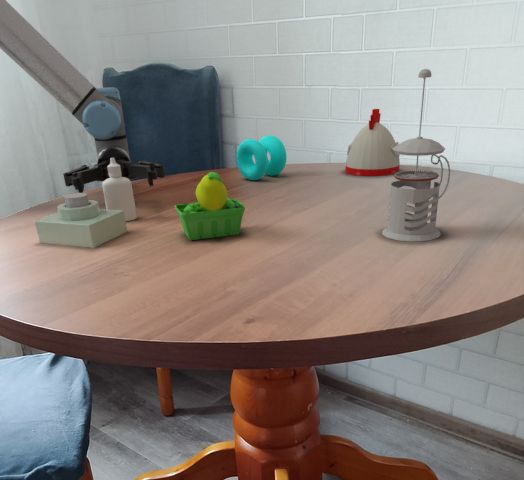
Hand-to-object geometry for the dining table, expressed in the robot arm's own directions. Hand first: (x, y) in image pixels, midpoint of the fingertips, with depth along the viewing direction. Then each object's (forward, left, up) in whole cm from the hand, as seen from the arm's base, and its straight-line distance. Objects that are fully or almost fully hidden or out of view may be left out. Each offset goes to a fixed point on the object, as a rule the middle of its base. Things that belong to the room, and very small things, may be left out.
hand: (115, 182), depth 105 cm
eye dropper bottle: (0, 0, -8) cm, 8 cm away
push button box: (0, -12, -8) cm, 14 cm away
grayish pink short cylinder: (0, -12, -2) cm, 12 cm away
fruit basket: (+23, -5, -8) cm, 25 cm away
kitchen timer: (+38, +58, -8) cm, 70 cm away
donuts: (+12, +45, -8) cm, 47 cm away
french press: (+57, +5, -8) cm, 58 cm away
